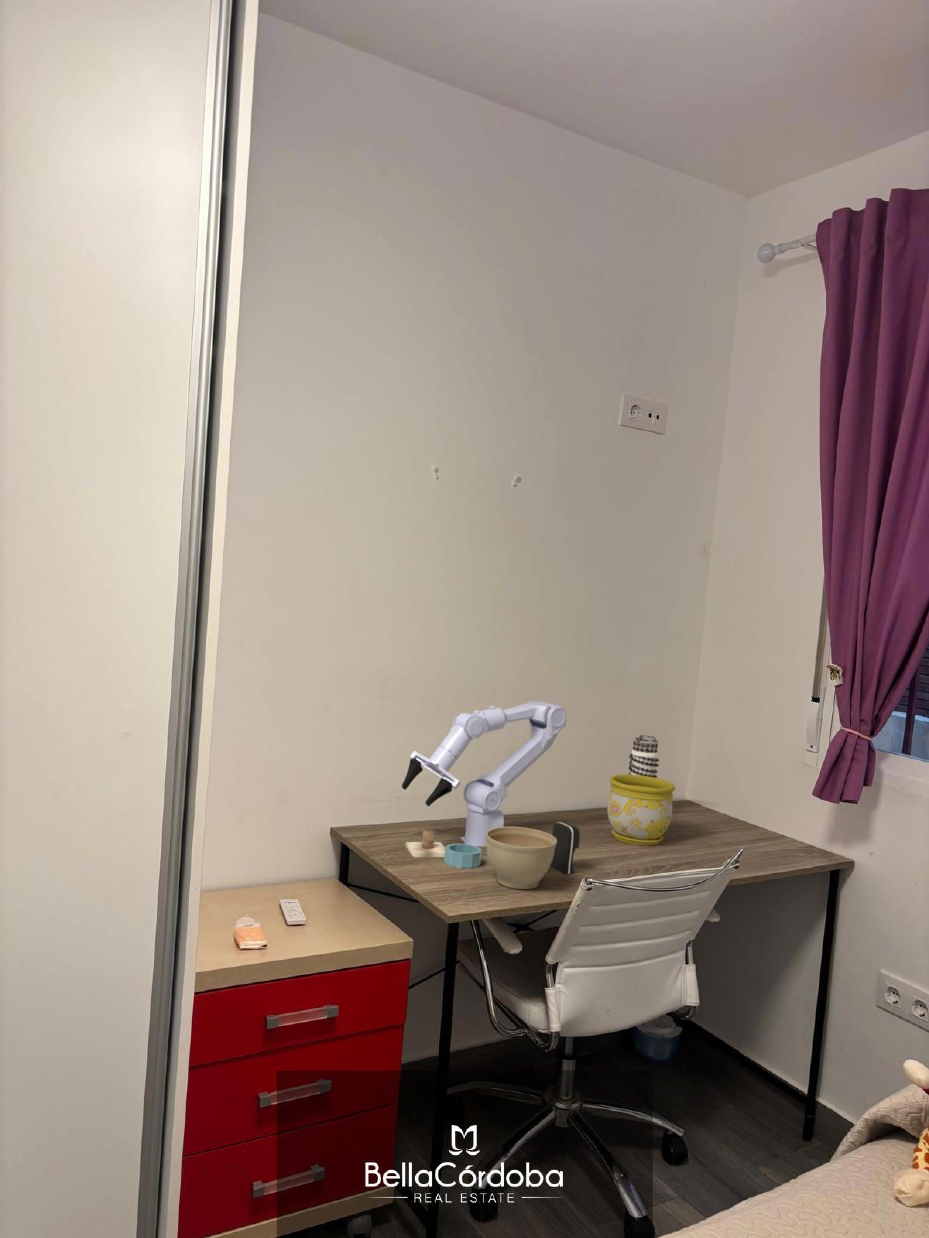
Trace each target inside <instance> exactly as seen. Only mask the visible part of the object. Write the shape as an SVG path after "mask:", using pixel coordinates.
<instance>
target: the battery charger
mask: <svg viewBox="0 0 929 1238" xmlns="http://www.w3.org/2000/svg"><path fill="white" fill-rule="evenodd" d="M551 835H552V836H553V837H555V838H556V840H557V844H556V847H555V852H554V856H553V860H552V862H551V865H550V867H551V868H552V869H554V870H556V871H557V872H560V873H562V874H565V875H570V874H574V873H575V869H574V866H573V861H574V853H575V852H576V850H577V849H579V848H580V847H579V846H580V838H581V836H580V835H581V832H580V829H579V828H578V827H577V826H576V825H575V824H574V825H573V824H572V823H568V822H566V821H563V822H562V821H561V822H560V821H559V822H555V823H554V824H553V827H552V834H551ZM550 867H549V868H550Z"/></svg>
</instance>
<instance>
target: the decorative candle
mask: <svg viewBox="0 0 929 1238" xmlns="http://www.w3.org/2000/svg"><path fill="white" fill-rule="evenodd" d="M632 741H633V742H632V749H631V753H630V754H629V756H628V758H629V759H630V760H629V762H628V764H629V766H628V771H629V772H628V774H627V775H640V776H648V777H653V778H658V776H657V773H658V770H657V769H656V768H657V767H660V766H659V763H658V762H659V761H660V759H659V758H658V754H659V752H658V748H659V744H660V742H659V741H658V739H656V737H655V736H654V735H653V736H652V735H646V734H638V735H636V736H635V737H634V738H633V739H632Z"/></svg>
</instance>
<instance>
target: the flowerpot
mask: <svg viewBox="0 0 929 1238" xmlns="http://www.w3.org/2000/svg"><path fill="white" fill-rule="evenodd" d="M609 783H610V784H611V785H610V788H609V790H610V792H609V796H608V801H607V817H608V820H609V821H608V822H609V823H610V825H611V827H612V828H613V829H611V833H612V835H613V836H614V838H615V839H616V840H617V841H620V842H622V843H625V842H626V844H630V845H635V846H642V845H644V846H645V847H646V846H649V845H650V846H656V845H659V844H660V843H661V841H663V840H664V836H663V834H665V833H666V832H667V830H668V828H669V826H670V824H671V822H672V818H673V798H674V794H673V792H674V791H675V790H676V785H675V784H674V783H672V782H671V781H668V780H666V779H665V780H664V779H661V778H658V777H657V778H653V777H648V776H640V775H628V774H615V775H612V776H610V778H609ZM644 846H643V847H644ZM650 846H649V847H650Z"/></svg>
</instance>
